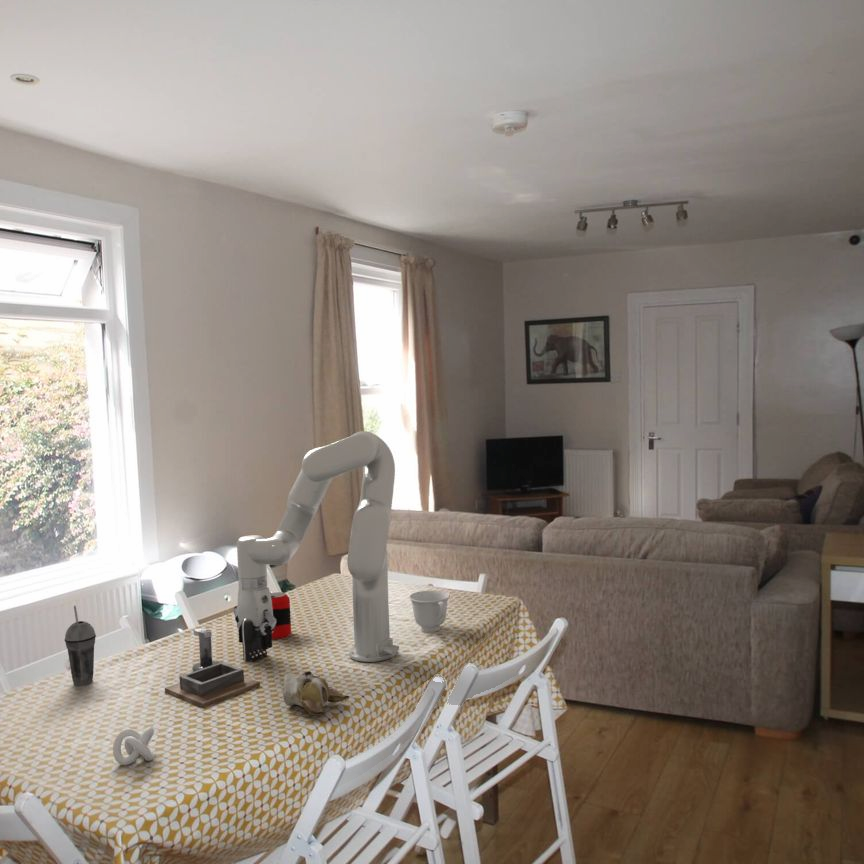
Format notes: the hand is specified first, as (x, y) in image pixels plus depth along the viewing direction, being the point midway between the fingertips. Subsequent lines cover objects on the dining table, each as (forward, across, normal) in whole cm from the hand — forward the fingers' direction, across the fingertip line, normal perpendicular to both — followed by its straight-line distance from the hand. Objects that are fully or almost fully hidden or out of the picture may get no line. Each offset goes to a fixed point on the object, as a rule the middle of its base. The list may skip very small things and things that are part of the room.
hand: (255, 644), depth 213 cm
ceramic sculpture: (+4, -38, +13) cm, 40 cm away
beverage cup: (+4, +22, +37) cm, 43 cm away
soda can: (+4, +11, -16) cm, 20 cm away
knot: (+4, -28, +50) cm, 57 cm away
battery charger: (+4, 0, 0) cm, 4 cm away
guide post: (+4, +4, +13) cm, 14 cm away
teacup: (+3, -24, -45) cm, 51 cm away
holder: (+4, -9, +20) cm, 22 cm away
